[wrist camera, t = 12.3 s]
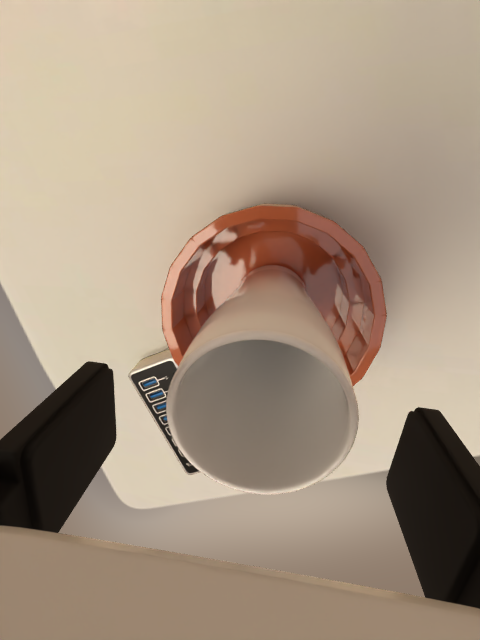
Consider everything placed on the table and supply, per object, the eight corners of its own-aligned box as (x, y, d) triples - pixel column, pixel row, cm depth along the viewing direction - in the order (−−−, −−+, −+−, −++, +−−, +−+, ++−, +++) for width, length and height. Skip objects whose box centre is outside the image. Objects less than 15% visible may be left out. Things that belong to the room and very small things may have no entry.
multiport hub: (181, 344, 28) (172, 356, 26) (235, 445, 31) (231, 464, 29) (137, 361, 30) (125, 374, 27) (193, 457, 32) (187, 476, 30)
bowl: (153, 268, 26) (118, 288, 21) (304, 162, 23) (311, 152, 17) (246, 398, 30) (238, 445, 24) (394, 323, 26) (425, 359, 20)
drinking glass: (231, 341, 27) (177, 495, 13) (223, 256, 25) (147, 333, 11) (318, 338, 26) (358, 501, 12) (317, 250, 24) (366, 325, 10)
